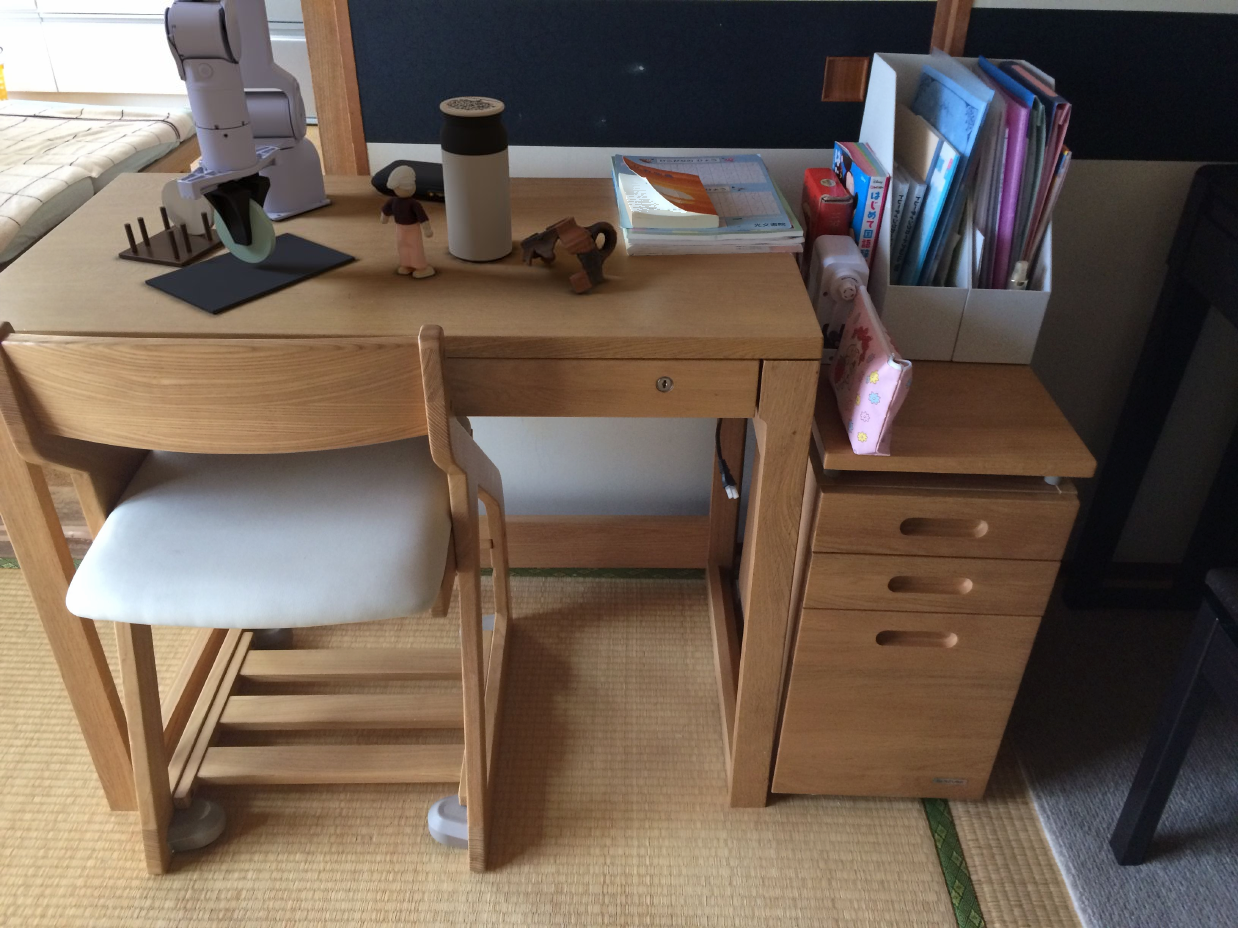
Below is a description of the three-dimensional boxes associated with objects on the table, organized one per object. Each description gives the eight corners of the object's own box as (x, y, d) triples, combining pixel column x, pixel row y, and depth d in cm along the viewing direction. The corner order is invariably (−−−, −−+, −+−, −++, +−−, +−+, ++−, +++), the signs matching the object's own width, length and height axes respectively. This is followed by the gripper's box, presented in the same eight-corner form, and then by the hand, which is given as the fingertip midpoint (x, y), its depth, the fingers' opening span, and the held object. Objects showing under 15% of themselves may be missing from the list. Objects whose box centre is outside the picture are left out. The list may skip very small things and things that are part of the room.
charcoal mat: (287, 235, 121) (287, 232, 121) (355, 260, 115) (354, 256, 115) (145, 283, 108) (144, 280, 107) (213, 314, 102) (212, 311, 101)
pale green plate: (227, 254, 112) (212, 189, 108) (281, 265, 110) (269, 199, 105) (221, 257, 111) (207, 191, 107) (276, 268, 109) (263, 201, 105)
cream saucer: (173, 229, 120) (159, 173, 116) (221, 236, 119) (209, 180, 115) (168, 231, 120) (154, 175, 116) (217, 238, 118) (205, 182, 114)
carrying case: (363, 197, 134) (459, 208, 131) (361, 176, 132) (457, 187, 130) (395, 175, 143) (486, 185, 140) (393, 155, 141) (484, 165, 138)
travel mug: (485, 268, 114) (477, 116, 104) (436, 253, 117) (423, 105, 107) (524, 248, 120) (520, 102, 109) (476, 235, 123) (467, 92, 113)
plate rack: (177, 228, 122) (169, 197, 120) (237, 236, 120) (230, 205, 118) (119, 258, 114) (109, 226, 111) (182, 267, 112) (174, 235, 109)
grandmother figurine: (448, 270, 113) (439, 165, 106) (433, 281, 110) (422, 175, 103) (392, 260, 115) (380, 157, 108) (376, 272, 112) (362, 166, 105)
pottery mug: (560, 306, 107) (528, 240, 104) (532, 310, 115) (502, 249, 113) (643, 260, 110) (613, 195, 108) (610, 268, 119) (582, 208, 117)
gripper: (238, 104, 108) (260, 217, 116) (143, 134, 97) (175, 257, 105) (288, 111, 106) (307, 226, 114) (197, 143, 95) (225, 268, 103)
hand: (247, 241), depth 109 cm, fingers closed on pale green plate, 1 cm apart
